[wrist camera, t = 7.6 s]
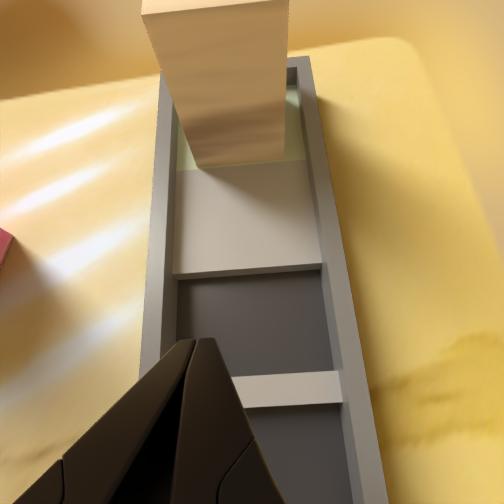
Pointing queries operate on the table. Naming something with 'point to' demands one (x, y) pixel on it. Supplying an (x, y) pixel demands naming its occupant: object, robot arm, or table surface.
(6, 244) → the box
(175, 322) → the box
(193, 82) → the block
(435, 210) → the table surface
